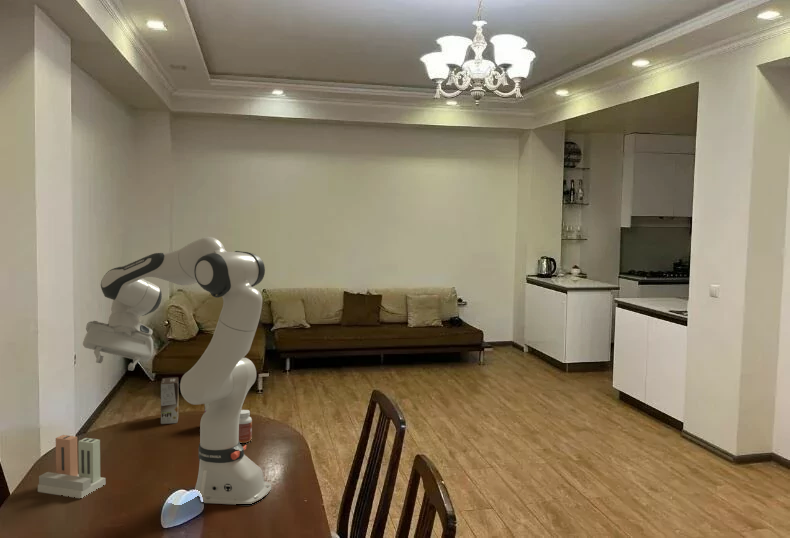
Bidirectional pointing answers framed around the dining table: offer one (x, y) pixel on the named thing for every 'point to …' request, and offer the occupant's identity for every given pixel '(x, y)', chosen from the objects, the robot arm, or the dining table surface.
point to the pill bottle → (245, 426)
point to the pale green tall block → (89, 458)
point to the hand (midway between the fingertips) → (115, 365)
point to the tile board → (72, 492)
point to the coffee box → (169, 400)
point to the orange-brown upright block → (66, 455)
